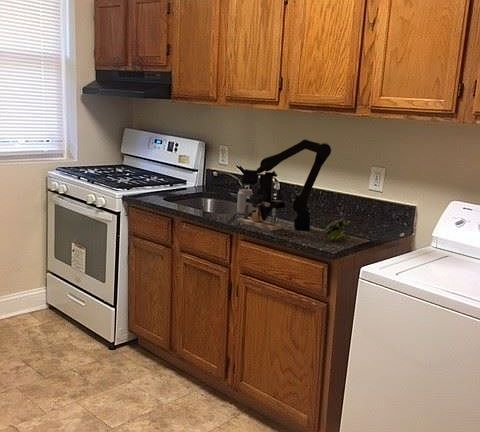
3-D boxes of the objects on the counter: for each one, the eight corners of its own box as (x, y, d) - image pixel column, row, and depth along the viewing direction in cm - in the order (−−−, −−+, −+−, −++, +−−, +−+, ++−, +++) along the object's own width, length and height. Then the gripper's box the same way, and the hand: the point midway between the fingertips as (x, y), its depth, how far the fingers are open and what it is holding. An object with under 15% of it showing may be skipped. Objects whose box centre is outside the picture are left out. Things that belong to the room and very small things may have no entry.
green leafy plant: (330, 249, 229) (337, 224, 233) (353, 250, 221) (360, 224, 225) (316, 238, 221) (324, 212, 226) (339, 238, 214) (347, 211, 218)
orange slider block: (263, 220, 245) (264, 207, 243) (257, 221, 242) (258, 208, 241) (257, 219, 247) (258, 206, 246) (251, 220, 244) (252, 207, 243)
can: (250, 215, 264) (251, 191, 262) (235, 214, 266) (236, 189, 263) (253, 212, 272) (254, 188, 269) (238, 211, 273) (239, 187, 271)
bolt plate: (282, 228, 239) (283, 210, 238) (271, 230, 234) (272, 212, 233) (247, 220, 254) (248, 203, 252) (237, 221, 249) (237, 204, 247)
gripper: (238, 184, 239) (236, 219, 242) (269, 190, 226) (267, 227, 230) (255, 182, 247) (253, 216, 250) (286, 188, 234) (284, 223, 237)
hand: (264, 220), depth 242 cm, fingers closed
